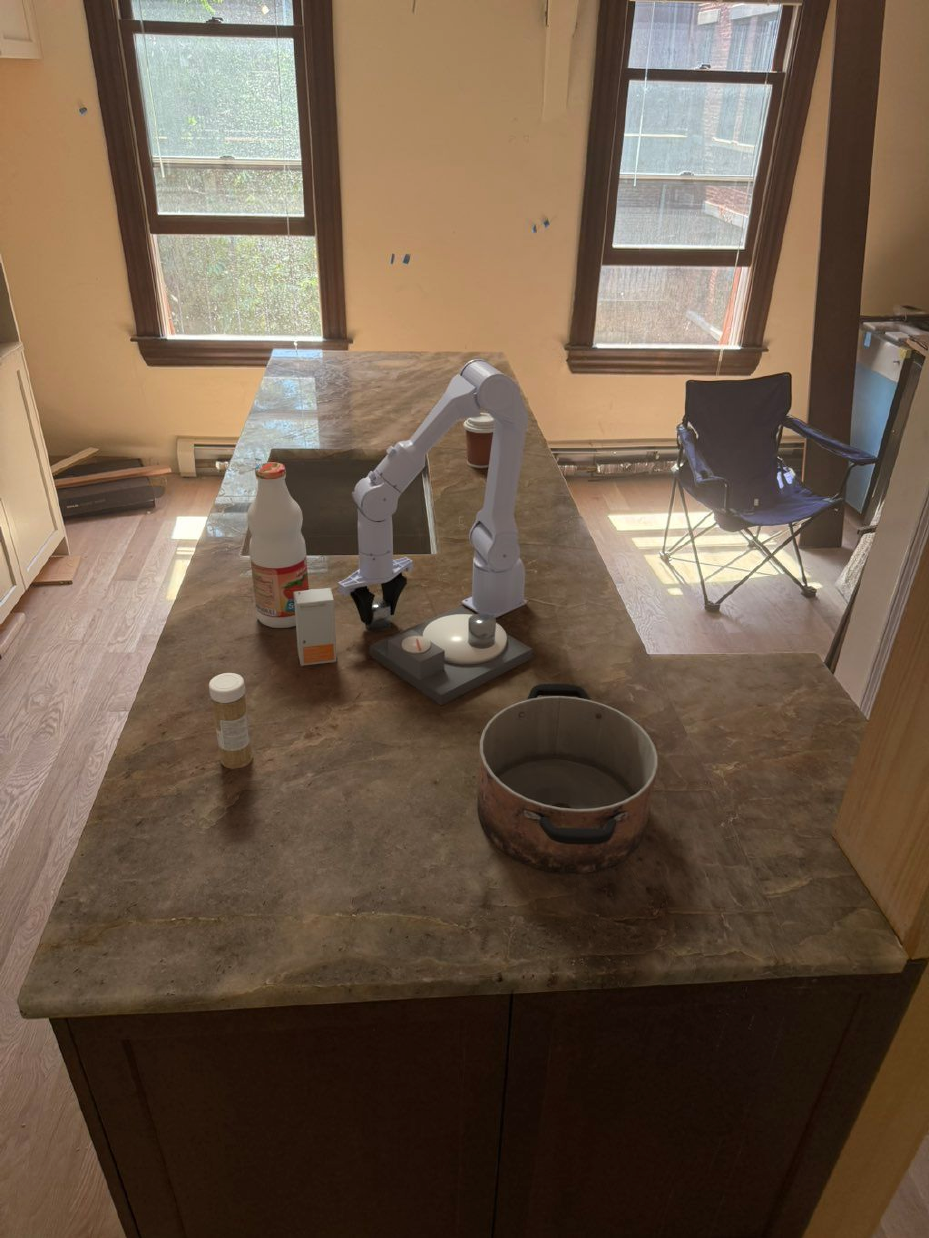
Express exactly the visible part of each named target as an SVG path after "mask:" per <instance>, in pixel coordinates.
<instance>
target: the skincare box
mask: <svg viewBox="0 0 929 1238" xmlns="http://www.w3.org/2000/svg"><path fill="white" fill-rule="evenodd" d="M293 593H294V605H295V619H296V626H295V628H296V629H295V630H296V645H297V653H298V659H299V662H300V663H299V665H300V666H301V667H303V666H311V665H319V664H327V663H328V664H329V663H336V662H337V644H336V643H337V641H336V638H337V637H336V622H335V621H336V617H335V615H336V614H335V598H334V596H333V592H332V588H331V587H326V588H311V589H309V590H305V591H295V592H293Z"/></svg>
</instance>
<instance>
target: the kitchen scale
mask: <svg viewBox="0 0 929 1238" xmlns="http://www.w3.org/2000/svg"><path fill="white" fill-rule="evenodd" d="M472 615H475V614H474V613H472V612H470V611H468V610H467V609H465V608H463V607H462V606H457V607H455V608H453V609H450V610H448V611H445V612H444V613H441V614H439V615H437V616H434V617H432V618H430V619H428V620H425V621H423V622H421V623H418V624H416V625H413V626H411V627H408V628H407V629H404V630H402V631H400V632H398V633H395V634H393V635H391V636H388V637H386V638H383V639H381V640H379V641H377V642H374V643H371V644H370V645H369V656H370V655H371V656H372V658H373V657H374V658H375V659H374V658H373V659H374V660H375V661H377V662H379V663H380V664H381V663H382V664H381V665H383V666H384V665H385V666H384V667H385V668H387V669H388V668H389V670H390V671H391V672H392V673H394V674H395V673H396V674H395V675H397V676H398V675H399V677H400V678H402V679H403V680H404V681H405V682H407V683H408V684H409V685H411V684H412V685H411V686H413V688H415V687H416V689H417V690H418V691H420V692H421V693H422V694H423V695H425V696H427V697H429V698H430V699H431V700H432V701H434V702H436V703H437V704H438V705H440V706H443V705H445V704H447V703H449V702H451V701H453V700H455V699H456V698H459V697H460V695H461V696H463V695H464V694H466V693H468V692H470V691H472V690H474V689H476V688H478V687H480V686H482V685H483V684H486V683H488V682H489V681H491V680H493V679H495V678H498V677H499V676H501V675H503V674H505V673H507V672H509V671H511V670H513V669H514V668H517V667H518V666H520V665H523V664H524V663H527V662H528V661H530V660H532V657H533V656H532V655H533V648H531V647H530V646H528V645H527V644H525V643H523V642H521V641H520V640H518V639H516V638H515V637H512V636H511V635H510V634H508V633H506V630H505V629H504V628H503V627H502V626H501V625H500V624H499V623H497V622H496V632H495V644H494V645H493V646H492V647H490V648H485V649H479V648H475V647H472V646H471V645H469V643H468V621H469V618H470V617H471V616H472ZM371 656H370V657H371ZM462 694H463V695H462Z"/></svg>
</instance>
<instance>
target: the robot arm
mask: <svg viewBox="0 0 929 1238" xmlns="http://www.w3.org/2000/svg"><path fill="white" fill-rule="evenodd" d="M520 392H521V387H520V386H519V385H518V384H517V383H516V382H515V381H514V380H513V379H512V378H511V377H510V376H508V375H506V374H505V373H503V372H501V371H499V370H498V369H497V368H495V367H494V366H493V365H492V364H491V363H490V362H488V361H487V360H485V359H482V358H475V359H472V360H469V361H468V362H466V363H465V364H464V365H463V366H462V368H461V369H460V371H459V372H458V373H457V374H455V375H454V376H453V377H452V378H451V379H450V381H449V384H448V386H447V388H446V390H445V392H444V393H443V395H442V396H441V398H440V399H439V401H438V402H437V403H436V405H435V406H434V407H433V408H432V410H431V411H430V412H429V413H428V415H427V416H426V417H425V419H424V420H423V421H422V423H421V424H420V425H419V427H418V428H417V429H416V431H414V433H413V434H412V436H411V437H410V439H408V440H401V441H398V442H396V444H395V445H394V446H393V445H390V446H389V447H387V449H386V456H385V457H384V458H383V459H382V460H381V461H380V463H379V464H378V465H377V466H376V467H375V469H374V470H373V471H372V470H370V471H369V473H368V474H367V476H366V477H363V478H361V479H360V480H359V481H358V482H357V483H356V485H355V486H354V491H352V492H351V497H352V499H353V501H354V503H355V504H356V505H357V506H358V507H357V544H358V545H357V546H358V569H357V570H356V571H354V572H353V573H351V574H350V575H349V576H347V577H346V578H344V579H343V580H341V581H338V582H337V585H338V586H337V587H338V593H339V594H340V595H342V596H344V597H345V598H346V597H348V596H350V597H351V599H352V600H353V602H354V604H355V606H356V609H357V612H358V615H359V619H360V621H361V623H363V624H364V625H365V624H366V625H370V624H371V622H372V604H373V600H374V599H375V597H376V595H375V594H374V593H372V592H371V591H370V588H368V586H369V587H370V586H374V585H380V586H381V591H382V592H381V593H382V599H385V600H387V601H389V603H390V613H391V617H392V616H394V615H395V612H396V608H397V604H398V602H399V599H400V596H401V594H402V592H403V591H404V589H405V587H406V586H407V585H408V583H407V582H408V579H407V577H405V576H404V575H403V573H404V572H407V573H410V572H413V571H414V561H413V560H412V559H410V558H408V557H407V556H405V557H401V558H398V559H394V546H393V545H394V544H393V543H394V541H393V518H392V517H393V515H394V514H395V513H396V511H397V509H398V503H399V502H398V500H399V498H400V497H401V495H402V494H403V493H404V491H405V490H406V489H407V488H408V486H410V484H411V483H412V482H413V480H414V479H416V477H417V476H418V475H419V474H420V473H421V472H422V470H424V467H426V454H427V453H428V452H430V450H431V449H432V448H433V447H434V446H436V444H437V443H438V442H439V441H440V440H441V439H442V438H443V437H444V436H445V435H446V434H447V433H448V432H449V431H450V430H451V428H452V427H453V426H455V425H456V423H458V421H460V420H461V419H468V418H473V417H481V414H480V413H481V412H480V410H481V409H482V411H485V412H486V413H487V414H489V415H490V416H491V417H492V418H493V419H494V421H495V423H494V431H493V438H492V446H491V454H490V461H489V467H488V469H487V477H486V478H487V479H486V484H485V492H484V493H485V494H484V498H483V507H482V509H480V510H479V511H478V512H477V513H476V518H475V522H474V523H473V525H472V527H471V528H470V530H469V534H468V540H469V543H470V545H471V546H472V547H473V548H474V556H473V561H472V563H473V564H472V583H471V584H472V587H471V588H472V589H471V596H470V597H468V598H465V599H463V600H462V601H461V604H462V605H464V606H465V607H466V608H469V609H470V610H472V611H474V612H475V613H476V614H488V615H491V616H493V617H494V618H495V619H496V618H500V616H501V617H502V616H503V615H505V614H507V613H510V612H512V611H515V610H516V609H518V608H520V607H523V606H524V605H527V602H528V601H527V600H526V599H525V597H524V596H525V587H526V586H525V585H526V584H525V583H526V568H525V565H524V563H523V560H522V559H521V558H520V556H521V547H520V544H519V541H518V539H519V529H518V526H517V523H516V519H515V516H514V515H515V514H514V513H515V507H516V506H515V505H516V502H517V495H518V487H519V483H520V482H519V481H520V475H521V474H520V473H521V468H522V461H523V454H524V448H525V442H526V435H527V429H528V424H529V423H528V421H529V413H528V410H527V407H526V404H525V402H524V400H523V398H522V397H523V396H522V395H521V393H520Z"/></svg>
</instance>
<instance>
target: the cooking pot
mask: <svg viewBox="0 0 929 1238" xmlns="http://www.w3.org/2000/svg"><path fill="white" fill-rule="evenodd" d="M528 693H529V694H528V696H527V699H525V700H523V701H518V702H515V703H514V704H511V705H509V706H507V707H505V708H504V709H502V710H500V711H499V712H497V713H496V714H495V715H494V716H493V717H492V718H491V719H490V720H489V721H488V722H487V724H486V725H485V727H484V728H483V731H482V733H481V737H480V740H479V752H478V771H477V774H478V775H477V792H476V793H477V794H476V795H477V796H476V798H477V799H476V800H477V801H476V803H477V805H476V806H477V808H476V809H477V815H478V819H479V822H480V825H481V826H482V829H483V830H484V832H485V833H486V836H487V837H488V838H489V839H490V841H492V842H493V844H494V845H495V846H497V847H498V848H499V849H500V850H502V852H504V853H505V854H506V855H508V856H510V857H511V858H513V859H515V860H517V861H518V862H520V863H522V864H524V865H527V866H529V867H532V868H535V869H539V870H541V871H546V872H550V873H556V874H557V873H559V874H568V875H570V874H587V873H591V872H596V871H601V870H604V869H606V868H610V867H612V866H614V865H616V864H618V863H620V862H622V861H623V860H624V859H626V858H628V857H629V856H630V855H632V853H633V852H634V851H635V850H636V849H637V848H638V847H639V846H640V843H641V842H642V840H643V839H644V837H645V836H644V835H645V832H646V829H647V825H648V821H649V815H650V810H651V804H652V800H653V794H654V789H655V784H656V779H657V778H656V777H657V772H658V766H659V765H658V764H659V763H658V762H659V761H658V759H659V758H658V757H659V755H658V753H657V752H658V751H657V749H656V746H655V744H654V742H653V740H652V738H651V737H650V735H649V733H647V731H646V730H645V729H644V728H643V727H642V726H641V725H640V724H639V723H637V722H636V721H635V720H634V719H633V718H631V717H630V716H628V715H627V714H626V713H623V712H621V711H619V710H618V709H616V708H613V707H612V706H609V705H607V704H604V703H600V702H597V701H594V700H592V699H591V698H590V696H589V694H588V693H587V691H586V690H585V689H584V688H583V687H581V686H579V685H577V684H569V683H541V684H540V683H539V684H536V685H534V686H533V687H531V689H530V691H529V692H528ZM558 803H560V804H565V805H567V806H568V807H570V808H567V807H558V806H553V805H555V804H558Z"/></svg>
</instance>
